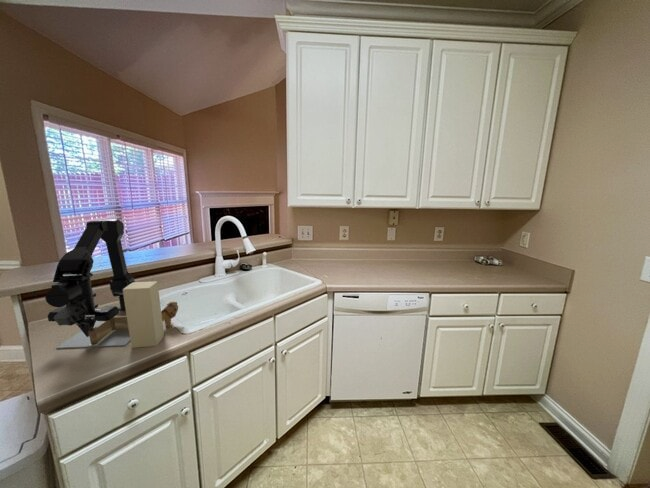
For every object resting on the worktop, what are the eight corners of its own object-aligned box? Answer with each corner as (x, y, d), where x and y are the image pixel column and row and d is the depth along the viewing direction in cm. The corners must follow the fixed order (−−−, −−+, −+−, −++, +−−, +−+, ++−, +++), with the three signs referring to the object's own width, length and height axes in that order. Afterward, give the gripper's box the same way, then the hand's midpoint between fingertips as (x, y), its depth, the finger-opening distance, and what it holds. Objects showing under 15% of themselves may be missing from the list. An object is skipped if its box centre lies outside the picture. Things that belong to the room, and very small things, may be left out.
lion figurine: (177, 319, 109) (174, 298, 107) (182, 323, 106) (180, 302, 104) (134, 333, 98) (130, 311, 96) (139, 339, 95) (135, 316, 93)
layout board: (97, 320, 107) (97, 319, 107) (154, 319, 109) (154, 317, 109) (56, 348, 89) (56, 347, 89) (125, 345, 91) (124, 344, 91)
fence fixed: (112, 328, 101) (109, 314, 100) (143, 327, 102) (141, 313, 101) (108, 331, 99) (105, 317, 98) (140, 329, 100) (138, 316, 99)
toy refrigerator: (165, 334, 98) (158, 280, 93) (157, 346, 91) (148, 288, 86) (141, 336, 97) (133, 281, 92) (131, 348, 90) (121, 289, 85)
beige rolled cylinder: (89, 344, 90) (86, 331, 89) (107, 330, 99) (105, 318, 98) (95, 344, 90) (92, 331, 89) (113, 330, 99) (110, 318, 98)
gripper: (25, 304, 80) (36, 350, 83) (91, 304, 81) (99, 350, 84) (59, 289, 91) (67, 331, 94) (117, 290, 92) (123, 331, 95)
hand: (88, 336), depth 92 cm, fingers closed
